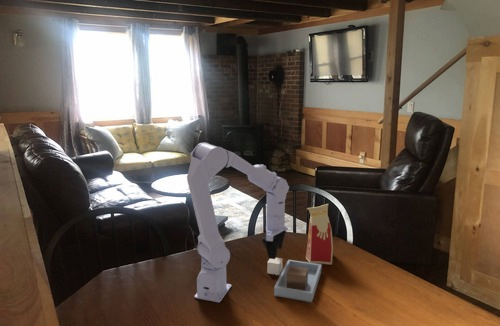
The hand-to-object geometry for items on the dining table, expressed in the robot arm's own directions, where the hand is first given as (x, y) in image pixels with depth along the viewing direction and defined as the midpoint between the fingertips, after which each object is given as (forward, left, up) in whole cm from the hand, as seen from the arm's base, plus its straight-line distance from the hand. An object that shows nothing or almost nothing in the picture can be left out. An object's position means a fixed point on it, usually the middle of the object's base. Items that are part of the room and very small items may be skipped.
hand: (275, 253), depth 125 cm
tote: (-5, -9, -6) cm, 12 cm away
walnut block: (-7, -9, -6) cm, 13 cm away
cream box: (0, 0, -7) cm, 7 cm away
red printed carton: (+14, -12, -7) cm, 20 cm away
